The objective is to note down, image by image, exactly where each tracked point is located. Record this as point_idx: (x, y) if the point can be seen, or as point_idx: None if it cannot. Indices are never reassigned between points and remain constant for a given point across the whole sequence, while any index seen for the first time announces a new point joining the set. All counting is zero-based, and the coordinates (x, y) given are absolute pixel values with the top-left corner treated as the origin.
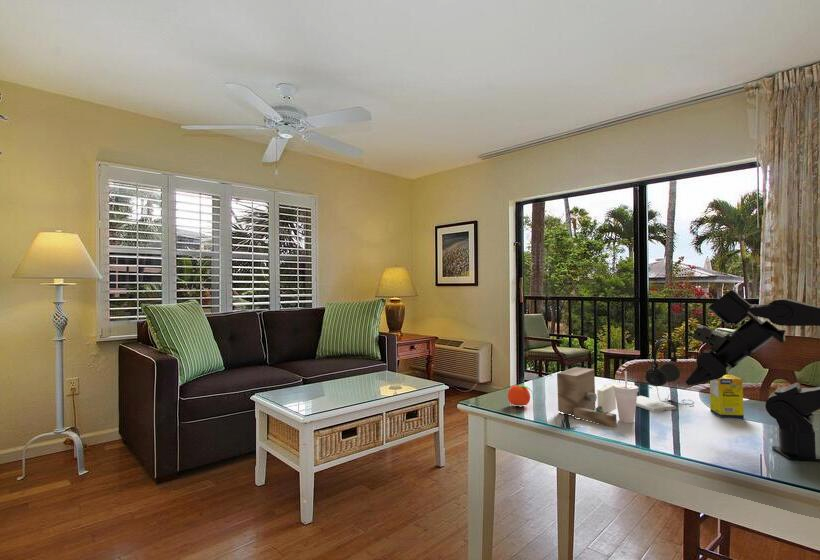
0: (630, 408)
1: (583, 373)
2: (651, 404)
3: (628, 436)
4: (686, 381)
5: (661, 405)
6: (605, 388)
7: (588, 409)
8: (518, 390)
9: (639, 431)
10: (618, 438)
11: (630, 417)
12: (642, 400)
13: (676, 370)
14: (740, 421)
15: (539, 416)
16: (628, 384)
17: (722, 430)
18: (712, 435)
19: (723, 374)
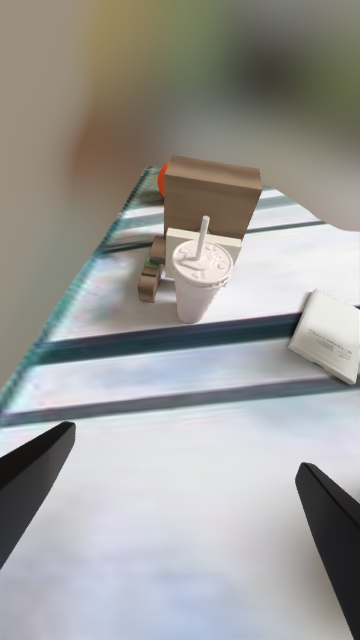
0: (179, 302)
1: (201, 180)
2: (319, 336)
3: (97, 326)
4: (55, 427)
5: (331, 354)
6: (193, 236)
7: (159, 252)
8: (162, 170)
9: (137, 338)
10: (79, 314)
11: (180, 313)
12: (333, 318)
13: None
14: None
15: (143, 220)
16: (230, 262)
17: (254, 521)
18: (190, 494)
19: None
